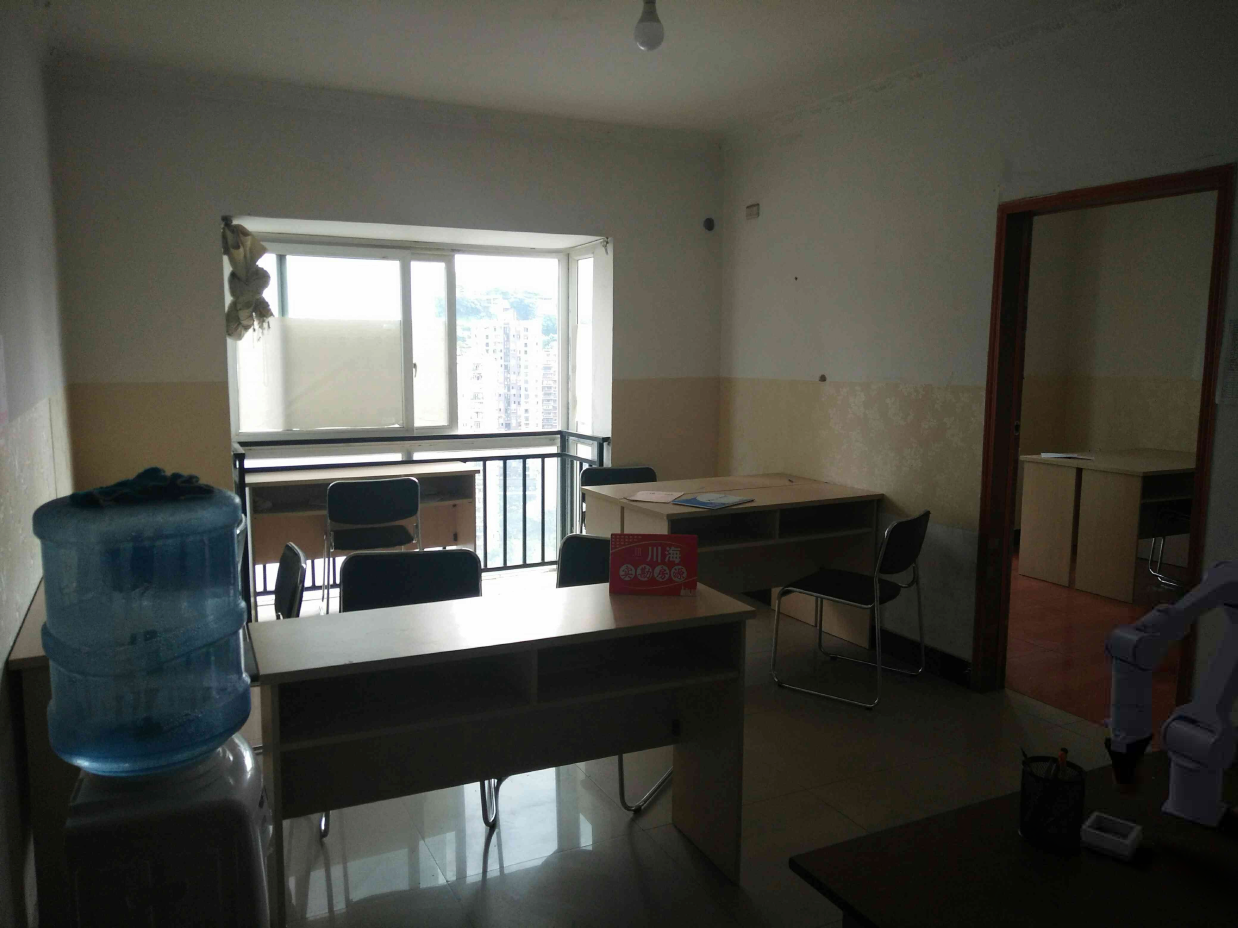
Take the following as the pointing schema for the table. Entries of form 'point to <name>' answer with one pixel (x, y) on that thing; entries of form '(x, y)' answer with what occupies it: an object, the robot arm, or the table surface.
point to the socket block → (1111, 836)
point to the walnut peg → (1135, 785)
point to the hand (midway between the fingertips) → (1127, 777)
